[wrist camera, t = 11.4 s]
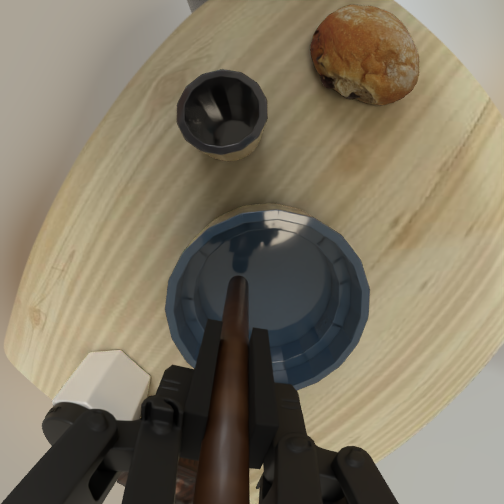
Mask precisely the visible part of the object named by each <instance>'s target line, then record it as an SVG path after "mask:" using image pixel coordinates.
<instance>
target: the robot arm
mask: <svg viewBox="0 0 504 504" xmlns="http://www.w3.org/2000/svg"><path fill="white" fill-rule="evenodd" d="M222 325H223V321H218V320H213V319H208V320H207V324H206V328H205V331H204V335H203V339H202V342H201V346H200V350H199V354H198V358H197V361H196V365H195V369H189V368H185V367H180V366H176V365H172V366H170V367H169V368H168V369H166V370H165V372H164V374H163V377H162V380H161V382H160V385H159V387H158V390H157V392H156V395H154V396H149V397H148V398H146V399H144V401H143V402H142V404H141V419H138V420H132V421H125V420H116V418H115V417H114V416H113V415H112V414H111V413H109V412H108V411H106V410H103V409H90V410H86V411H85V412H83V413H82V414H81V415H80V416H79V417H78V418H77V419H76V420H75V422H74V423H73V424H72V425H71V426H70V427H69V428H68V429H67V430H66V431H65V432H64V434H63V435H62V436H61V437H60V438H59V439H58V440H57V441H56V442H55V444H54V445H53V446H52V447H51V448H50V449H49V450H48V451H47V453H45V455H44V456H43V457H42V458H41V459H40V460H39V461H38V462H37V464H36V465H35V466H34V467H33V468H32V469H31V470H30V471H29V473H28V474H27V475H26V476H25V477H24V478H23V479H22V480H21V482H20V483H19V484H18V485H17V486H16V487H15V488H14V489H13V491H12V492H11V493H10V494H9V495H8V496H7V498H6V499H5V500H4V501H3V502H2V503H1V504H102V503H103V501H104V500H105V498H106V497H107V495H108V493H109V492H110V490H111V489H112V487H113V486H114V484H115V482H116V481H117V479H118V478H119V476H120V474H121V473H122V472H129V473H128V477H127V481H126V486H125V490H124V495H123V500H122V504H175V493H176V482H177V472H178V461H179V457H181V458H186V459H191V460H196V461H199V456H200V449H201V443H202V440H203V438H204V435H205V430H206V424H207V419H208V413H209V407H210V400H211V394H212V387H213V381H214V374H215V368H216V362H217V355H218V349H219V343H220V337H221V331H222ZM248 385H249V468H254V469H260V468H261V466H262V464H263V466H264V472H263V474H262V476H261V478H260V480H259V482H258V484H257V486H256V489H259V487H260V493H259V504H399V503H398V502H397V500H396V498H395V497H394V495H393V493H392V492H391V490H390V488H389V487H388V485H387V483H386V482H385V480H384V479H383V477H382V475H381V473H380V472H379V470H378V468H377V467H376V465H375V463H374V462H373V460H372V458H371V457H370V455H369V454H368V453H367V452H366V451H365V450H363V449H362V448H359V447H355V446H347V447H344V448H342V449H341V450H340V451H339V452H334V451H330V450H326V449H323V448H320V447H318V446H316V445H315V443H314V441H313V440H312V439H311V438H310V437H309V436H307V433H306V428H305V424H304V419H303V414H302V410H301V405H300V402H299V401H300V400H299V396H298V392H297V391H296V389H295V388H294V387H293V386H292V384H284V383H276V382H274V376H273V367H272V359H271V351H270V343H269V335H268V330H267V329H261V328H255V327H253V329H252V333H251V337H250V341H249V345H248Z"/></svg>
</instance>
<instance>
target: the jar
mask: <svg viewBox="0 0 504 504" xmlns="http://www.w3.org/2000/svg"><path fill="white" fill-rule="evenodd" d="M150 378H151V377H150V375H149V374H147V373H146V372H145V371H144V370H143V369H142V368H140V367H139V366H138V365H137V364H136V363H135V362H134V361H133V360H131V359H130V358H129V357H128V356H127V355H126V354H125V353H124V352H123V351H122V350H111V351H99V352H90V353H88V355H87V356H86V357H85V358H84V360H83V361H82V362H81V363H80V365H79V366H78V367H77V369H76V370H75V371H74V372H73V374H72V375H71V376H70V377H69V379H68V380H67V381H66V383H65V384H64V385H63V387H62V388H61V389H60V391H59V392H58V393H57V394H56V396H55V397H54V398H53V400H52V402H53V408H51V409H50V410H49V412H48V413H47V415H46V416H45V419H44V420H43V423H42V429H43V433H44V435H45V437H46V438H47V440H48V442H49V443H50V444H51V445H52V446H53V445H54V444H55V442H56V441H57V440H58V439H59V438H60V437H61V436H62V435H63V434H64V432H65V431H66V430H67V429H68V428H69V427H70V426H71V425H72V424H73V423H74V422H75V420H76V419H77V418H78V417H79V416H80V415H81V414H82V413H83V412H85V411H86V410H90V409H103V410H106V411H108V412H109V413H111V414H112V415H113V416H114V417H115V418H116V420H125V421H132V420H138V419H140V417H141V404H142V402H143V401H144V399H146V398H147V396H148V390H149V384H150Z"/></svg>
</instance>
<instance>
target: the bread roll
mask: <svg viewBox="0 0 504 504" xmlns="http://www.w3.org/2000/svg"><path fill="white" fill-rule="evenodd" d="M310 51H311V56H312V60H313V62H314V66H315V68H316V70H317V71H318V73H319V74H320V76H321V80H322V83H323V85H324V86H325V87H326V88H330V89H334V90H336V91H337V92H339V93H340V94H341V95H342V96H345V97H346V98H349V99H357V100H359V101H362V102H364V103H369V104H377V105H380V106H382V105H386V104H389V103H393V102H395V101H398V100H400V99H402V98H404V97H405V95H407V94H408V93H410V92H411V91H412V90H413V88H414V86H415V85H416V84H417V81H418V76H419V55H418V51H417V49H416V46H415V43H414V41H413V39H412V38H411V36H410V34H409V32H408V30H407V28H406V27H405V26H404V24H403V23H402V22H401V21H400V20H399V19H398V18H397V17H395V16H394V15H393V14H391V13H389V12H387V11H385V10H382V9H379V8H377V7H373V6H362V5H347V6H344V7H342V8H340V9H338V10H337V11H335V12H333V13H331V14H330V15H328V16H327V18H326V19H325V20H324V21H323V22H322V23H321V24H320V25H319V27H318V28H317V30H316V31H315V33H314V35H313V39H312V42H311V47H310Z"/></svg>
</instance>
